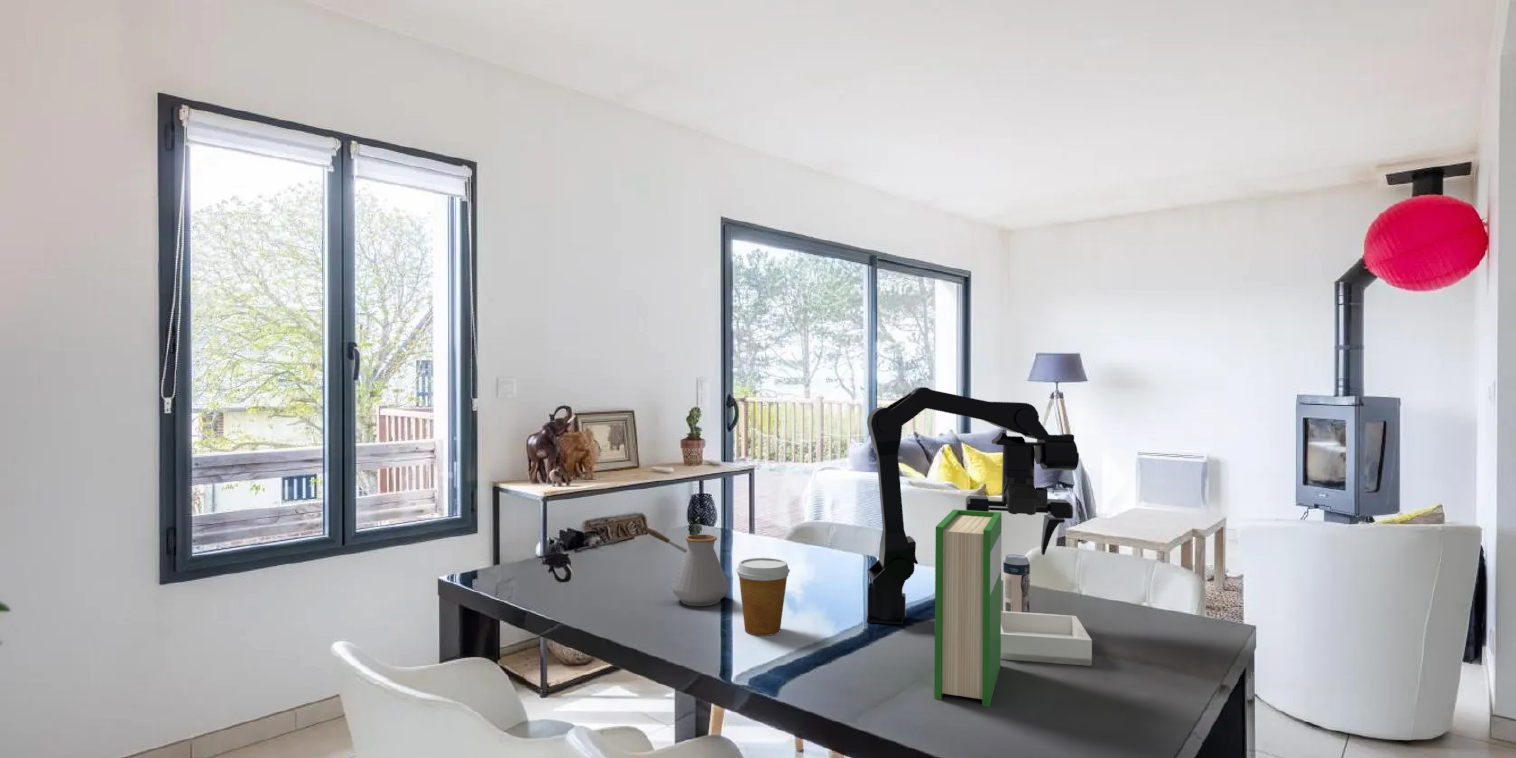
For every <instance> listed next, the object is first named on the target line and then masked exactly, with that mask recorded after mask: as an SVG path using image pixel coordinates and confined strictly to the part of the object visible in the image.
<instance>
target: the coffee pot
mask: <svg viewBox="0 0 1516 758" xmlns="http://www.w3.org/2000/svg"><path fill="white" fill-rule="evenodd" d="M634 526H635V528H634ZM633 528H634V529H633ZM637 528H640V529H641V531H643V532H644V531H645V532H646V533H647V534H649V535H650V536H651V537H653V538H655V539H657V540H660V541H661V542H664V543H665V544H669V545H671V546H672V547H674V548H676V549H678V550H679V551H681V552H683V553H684V554H685V555H684V557H683V559H682V562H681V565H680V567H679V569H678V572H677V574H676V576H675V578H674V580H673V583H672V586H671V589H672V592H673V594H674V596H676V598H677V599H679V600H680V602H681V603H683V605H688V606H692V607H695V606H696V607H706V606H707V607H708V606H712V605H716V604H719V602H720V600H721V599H723V598H724V597H725V596H726V595H727V594H728V591H729V590H730V589H729V588H730V585H729V583H728V581H727V578H726V575H725V572H724V570H723V568H722V565H721V563H720V561H719V558H718V556H717V553H716V550H715V548H714V546H715V541H717V540H718V538H717V536H716V535H712V534H691V535H687V536H685V537H684V540H685V541H686V543H687V547H688V548H686V547H684V546H683V545H681V544H679V543H677V542H675V541H673V540H671V539H669V538H668V537H667V536H665V535H664V534H662V533H660V532H659V531H657V530H655V529H652V528H649V527H647V525H646V524H645V525H643V524H641V523H640V522H637V521H635V522H634V523H633V525H632V526H631V529H630V530H631V532H634V531H635V530H637Z"/></svg>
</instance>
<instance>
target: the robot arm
mask: <svg viewBox="0 0 1516 758" xmlns="http://www.w3.org/2000/svg"><path fill="white" fill-rule="evenodd" d="M927 409H928V410H932V411H938V412H944V413H948V414H953V415H957V416H962V417H967V418H972V419H976V420H981V421H983V422H985V423H988V424H990V425H992V426H995V427H997V428H1000V429H1003V430H1005V431H1008V432H1011V433H1016V434H1020V435H1019V436H1016V435H1008V434H1007V433H1006V432H1004V431H1000V432H999V433H998V435H997V436H995V437H994V438H993V439H992V440H991V441H990V442H991V444H993V445H996V446H1002V474H1001V475H1002V476H1001V481H1002V482H1001V483H1002V484H1001V500H989V497H988V496H987V495H970V494H969V495H968V496H966V498H965V510H971V511H987V512H990V511H994V512H1008V513H1009V514H1011V515H1018V514H1020V515H1021V514H1024V515H1028V516H1033V515H1036V513H1040V514H1042V513H1043V514H1044V516H1043V524H1042V533H1041V542H1040V543H1041V545H1040V550H1041V552H1040V553H1041V555H1042V556H1045V554H1046V551H1047V549H1048V547H1049V544H1050V540H1051V538H1052V536H1053V534H1054V532H1055V530H1056V528H1057V527H1058V525H1059V524H1062V523H1063V524H1065V523H1066V519H1067V520H1068V519H1069V520H1070V519H1071V520H1072V519H1073V518H1074V506H1073V505H1072V504H1071V503H1070V502H1069V501H1068V500H1066V499H1061V498H1059V499H1057V498H1055V499H1054V498H1048V497H1049V496H1048V491H1049V490H1048V488H1047V487H1043V486H1040V487H1039V486H1036V487H1035V463H1036V464H1037V465H1039V466H1040V468H1041V469H1042V470H1043V471H1076V470H1077V468H1078V465H1079V460H1080V453H1079V451H1078V446H1077V443H1076V442H1075V435H1074V434H1071V433H1061V434H1049V433H1048V431H1047V430H1046V429H1045V427H1044V426H1043V424H1042V423H1041V422H1040V416H1039V412H1038V410H1037V408H1036V407H1035V406H1034V405H1032V404H1030V403H1028V402H1017V401H1016V402H1015V401H1012V402H1011V401H987V400H984V399H983V400H982V399H978V398H973V397H968V396H963V395H958V394H954V393H953V394H952V393H949V392H943V391H939V390H934V389H930V388H929V387H925V386H924V387H923V386H922V387H921V386H920V387H919V386H918V387H916V388H914V389H913V390H912V391H911V392H909V393H908V394H906V395H904V396H903V397H901V398H900V399H897V400H896V401H894V402H893V403H891V404H890V405H888V406H886V407H885V406H880V407H876V408H875V409H872V411H871V412H870V413H869V414H868V415H867V418H866V419H867V420H866V424H867V428H868V433H869V436H870V437H869V438H870V439H871V440H870V441H871V444H872V446H873V449H874V453H875V456H876V464H877V475H878V487H879V489H878V490H879V499H880V501H879V502H880V511H881V513H880V514H881V524H882V529H881V531H882V532H881V536H880V542H879V551H878V552H879V553H878V560H876V561H875V562H874V563H873V564H872V565H871V566H870V567H869V568H867V571H866V572H867V575H868V578H869V580H870V583H868V586H867V617H866V622H867V623H872V624H873V623H876V624H889V625H890V624H891V625H903V621H904V620H905V619H906V614H907V613H906V612H907V611H906V610H907V609H906V605H907V604H906V601H907V599H906V598H907V597H906V593H904V592H903V588H904V585H905V582H906V581H907V580H908V579H910V578H911V577H912V575H913V574H914V573H915V565H918V564H919V562H918V560H917V557H916V549H917V548H916V547H917V546H916V544H917V543H916V541H915V539H914V538H913V537H912V536H911V535H907V534H906V531H905V522H904V511H903V502H902V501H903V500H902V489H901V488H902V487H901V476H900V465H899V453H900V447H901V441H902V432H903V431H902V430H903V426H904V425H905V424H907V423H908V422H910V421H911V420H912V419H914V418H916V417H917V415H920V414H921V413H922V412H923V411H924V410H927ZM1021 435H1022V436H1021ZM1024 437H1025V438H1028V439H1029V438H1030V439H1034V440H1036V441H1026V440H1025V438H1024Z"/></svg>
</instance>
